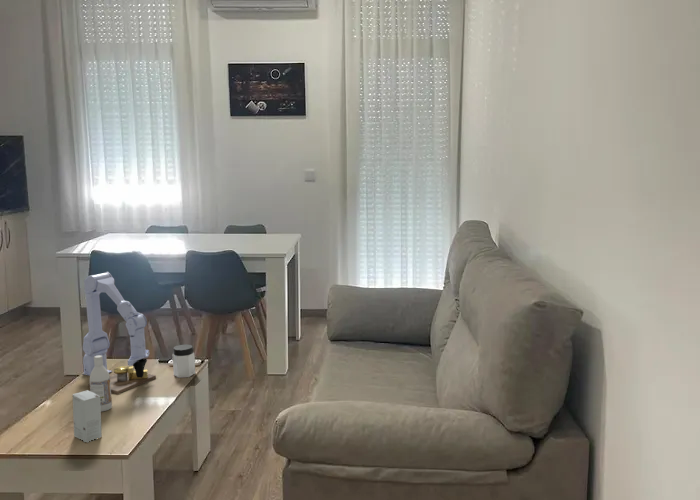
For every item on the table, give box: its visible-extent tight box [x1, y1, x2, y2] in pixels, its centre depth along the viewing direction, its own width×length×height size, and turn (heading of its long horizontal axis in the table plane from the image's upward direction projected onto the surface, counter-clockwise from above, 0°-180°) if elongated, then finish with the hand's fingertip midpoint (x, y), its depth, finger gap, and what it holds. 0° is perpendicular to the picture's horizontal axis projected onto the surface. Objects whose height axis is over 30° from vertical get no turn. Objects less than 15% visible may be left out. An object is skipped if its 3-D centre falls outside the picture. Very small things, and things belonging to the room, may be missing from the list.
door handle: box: [113, 365, 149, 379], centre depth 269 cm, size 13×6×5 cm, turn 102°
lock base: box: [87, 365, 157, 395], centre depth 269 cm, size 17×20×4 cm
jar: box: [172, 343, 196, 379], centre depth 277 cm, size 9×8×12 cm
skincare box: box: [72, 389, 103, 443], centre depth 217 cm, size 8×6×15 cm
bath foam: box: [89, 355, 113, 413], centre depth 241 cm, size 7×7×20 cm
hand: (140, 376), depth 268 cm, fingers closed, pressing on door handle
